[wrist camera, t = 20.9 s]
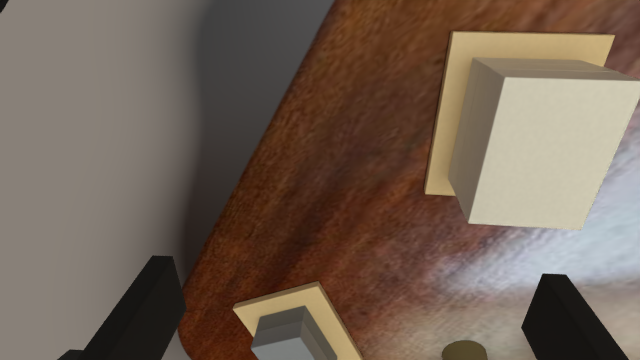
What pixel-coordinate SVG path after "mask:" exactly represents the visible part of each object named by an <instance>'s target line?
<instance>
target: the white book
mask: <svg viewBox="0 0 640 360" xmlns="http://www.w3.org/2000/svg"><path fill="white" fill-rule="evenodd" d="M639 98H640V79H638V78H635V77H631V76H628V75H625V74H622V73H619V72H594V71H558V70H522V69H491V70H490V74H489V79H488V83H487V87H486V92H485V96H484V100H483V105H482V109H481V113H480V117H479V122H478V126H477V130H476V135H475V139H474V143H473V148H472V152H471V156H470V161H469V165H468V169H467V174H466V178H465V182H464V186H463V191H462V195H461V199H460V204H459V205H460V207H461V209H462V211H463V213H464V215H465V217H466V220H467V222H468V223H472V224H488V225H505V226H521V227H538V228H554V229H571V230H581V229H582V227H583V225H584V223H585V220H586V218H587V216H588V214H589V211H590V209H591V207H592V205H593V202H594V200H595V198H596V196H597V193H598V191H599V189H600V186H601V184H602V182H603V180H604V177H605V175H606V173H607V171H608V168H609V166H610V164H611V162H612V159H613V157H614V155H615V153H616V150H617V148H618V146H619V144H620V141H621V139H622V137H623V134H624V132H625V130H626V128H627V125H628V123H629V121H630V119H631V116H632V114H633V112H634V110H635V107H636V105H637V103H638V101H639Z"/></svg>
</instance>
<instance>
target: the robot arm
mask: <svg viewBox="0 0 640 360" xmlns="http://www.w3.org/2000/svg"><path fill="white" fill-rule="evenodd" d="M186 309H187V308H186V304H185V300H184V297H183V293H182V289H181V286H180V282H179V279H178V275H177V271H176V268H175V264H174V260H173V257H172V256H152V257H151V258H150V260H149V261H148V262H147V264H146V265H145V267H144V268H143V269H142V271H141V272H140V273H139V275H138V276H137V278H136V279H135V280H134V282H133V283H132V284H131V286H130V287H129V289H128V290H127V291H126V293H125V294H124V296H123V297H122V298H121V300H120V301H119V302H118V304H117V305H116V306H115V308H114V309H113V310H112V312H111V313H110V315H109V316H108V317H107V319H106V320H105V321H104V323H103V324H102V326H101V327H100V328H99V330H98V331H97V332H96V334H95V335H94V337H93V338H92V339H91V341H90V342H89V343H88V345H87V346H86V348H85V349H84V350H69V351H67V352H66V353H65V354H64V355H62V356H61V357H60V358H59V359H57V360H161V359H162V357H163V355H164V353H165V351H166V349H167V347H168V344H169V343H170V341H171V339H172V337H173V335H174V333H175V331H176V329H177V327H178V325H179V323H180V321H181V319H182V317H183V315H184V313H185V311H186ZM521 328H522V330H523V332H524V334H525V336H526V338H527V340H528V342H529V344H530V346H531V348H532V350H533V352H534V354H535V356H536V359H537V360H629V359H628V358H627V356H626V355H625V354H624V352H623V351H622V350H621V348H620V347H619V346H618V344H617V343H616V342H615V340H614V339H613V338H612V336H611V335H610V333H609V332H608V331H607V329H606V328H605V327H604V325H603V324H602V323H601V321H600V320H599V319H598V317H597V316H596V315H595V313H594V312H593V311H592V309H591V308H590V306H589V305H588V304H587V302H586V301H585V300H584V298H583V297H582V296H581V294H580V293H579V292H578V290H577V289H576V288H575V286H574V285H573V283H572V282H571V281H570V279H569V278H568V277H567V275H562V274H542V277H541V279H540V282H539V284H538V287H537V289H536V292H535V294H534V297H533V299H532V302H531V304H530V307H529V309H528V312H527V314H526V317H525V319H524V322H523V324H522V327H521Z"/></svg>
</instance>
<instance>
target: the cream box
mask: <svg viewBox="0 0 640 360" xmlns="http://www.w3.org/2000/svg"><path fill="white" fill-rule="evenodd" d="M614 37H615V35H611V34H587V33H538V32H489V31H451V33H450V39H449V44H448V50H447V56H446V62H445V68H444V74H443V79H442V85H441V91H440V97H439V103H438V108H437V114H436V120H435V126H434V132H433V138H432V143H431V149H430V155H429V161H428V167H427V173H426V178H425V184H424V192H425V194H433V195H451V196H456V197H457V199H458V201H459V203H460V199H461V195H462V191H463V186H464V182H465V178H466V174H467V169H468V165H469V161H470V156H471V152H472V148H473V143H474V139H475V135H476V130H477V126H478V122H479V117H480V113H481V109H482V105H483V100H484V96H485V92H486V87H487V83H488V79H489V74H490V70H491V69H522V70H558V71H594V72H618V71H614V70H611V69H608V68H605V67H603V66H604V64H605V61H606V58H607V56H608V53H609V50H610V48H611V45H612V42H613V40H614Z"/></svg>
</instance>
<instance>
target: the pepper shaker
mask: <svg viewBox="0 0 640 360" xmlns="http://www.w3.org/2000/svg"><path fill="white" fill-rule="evenodd" d="M442 358H443V360H488V359H487V354H486V350H485V348H484V347H483V346H482V345H480V344H478V343H476V342H473V341H458V342H454V343H452V344H449V345H448V346H447V347H446V348H445V349H444V350H443V352H442Z"/></svg>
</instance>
